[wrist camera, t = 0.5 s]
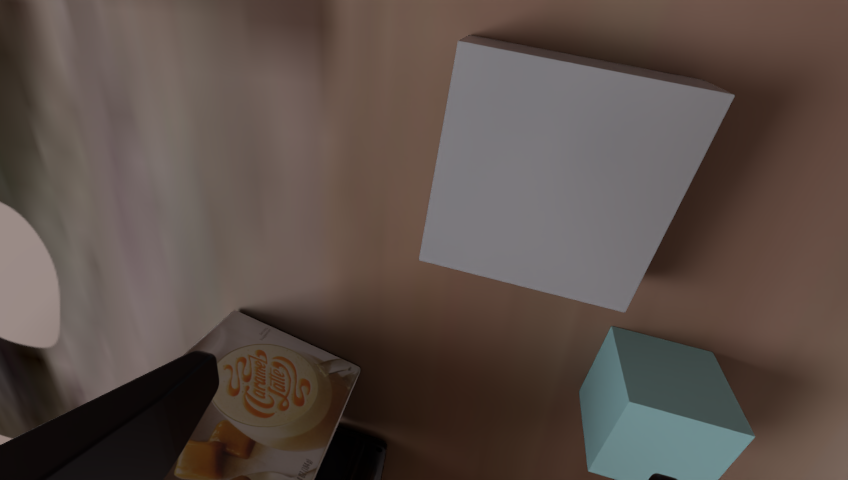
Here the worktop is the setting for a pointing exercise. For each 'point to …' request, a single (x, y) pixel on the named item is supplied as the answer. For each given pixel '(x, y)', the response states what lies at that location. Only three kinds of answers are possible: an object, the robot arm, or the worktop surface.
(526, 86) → the stone plinth
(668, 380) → the teal cube
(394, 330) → the worktop surface
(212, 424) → the coffee box
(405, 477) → the worktop surface
